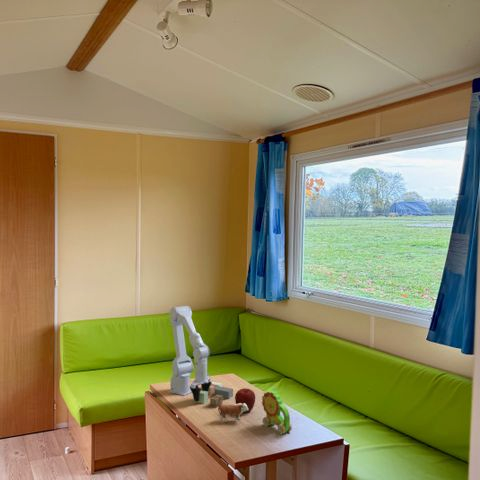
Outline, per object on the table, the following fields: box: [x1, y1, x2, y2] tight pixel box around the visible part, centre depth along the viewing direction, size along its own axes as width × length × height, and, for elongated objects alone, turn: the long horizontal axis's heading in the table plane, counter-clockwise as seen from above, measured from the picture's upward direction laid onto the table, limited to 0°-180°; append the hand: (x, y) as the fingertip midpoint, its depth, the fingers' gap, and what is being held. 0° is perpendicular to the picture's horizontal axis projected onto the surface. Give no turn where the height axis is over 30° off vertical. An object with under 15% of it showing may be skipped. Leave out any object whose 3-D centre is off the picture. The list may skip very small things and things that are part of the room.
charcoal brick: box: [213, 386, 234, 400], centre depth 249 cm, size 8×5×4 cm, turn 66°
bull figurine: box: [217, 403, 249, 423], centre depth 219 cm, size 4×13×8 cm, turn 89°
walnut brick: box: [209, 395, 224, 409], centre depth 237 cm, size 6×3×4 cm, turn 152°
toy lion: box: [261, 390, 293, 435], centre depth 212 cm, size 16×5×15 cm, turn 37°
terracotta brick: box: [200, 385, 214, 397], centre depth 253 cm, size 6×3×4 cm, turn 61°
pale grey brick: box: [210, 381, 223, 389], centre depth 257 cm, size 6×3×4 cm, turn 61°
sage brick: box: [193, 390, 209, 405], centre depth 241 cm, size 6×3×5 cm, turn 62°
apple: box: [234, 387, 256, 413], centre depth 231 cm, size 10×10×10 cm
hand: (200, 398), depth 241 cm, fingers open, 7 cm apart
